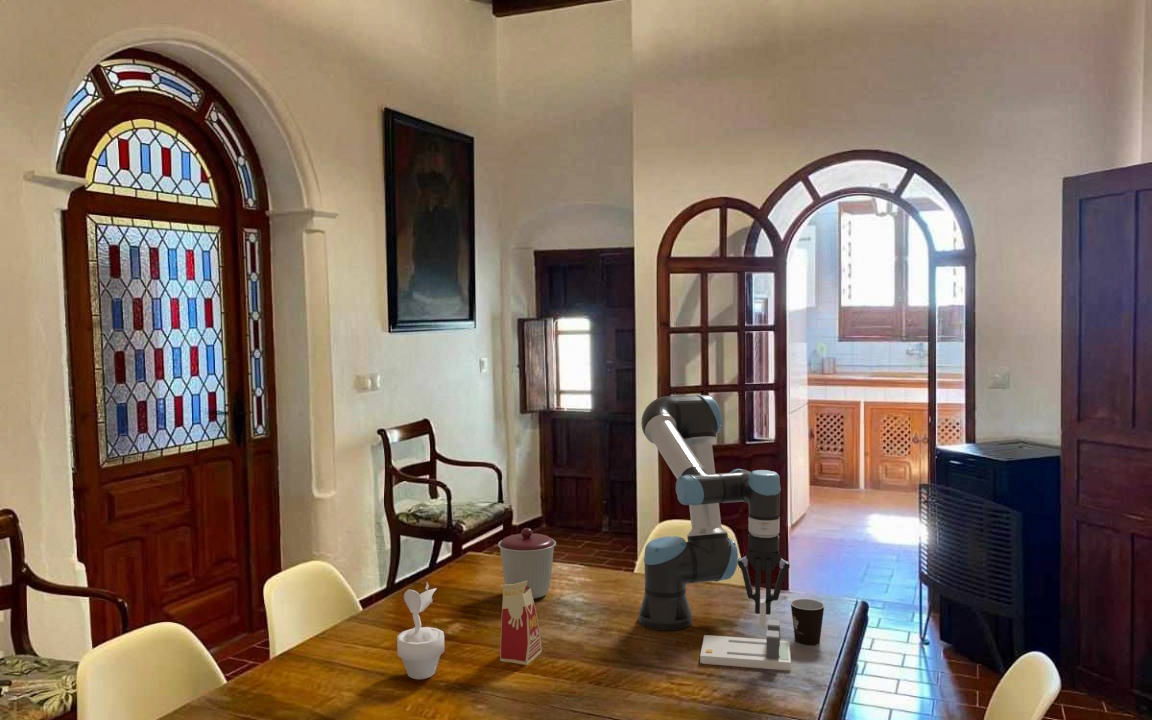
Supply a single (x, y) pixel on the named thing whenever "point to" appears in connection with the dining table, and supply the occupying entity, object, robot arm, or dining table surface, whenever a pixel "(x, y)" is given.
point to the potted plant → (420, 639)
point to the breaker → (774, 626)
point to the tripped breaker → (772, 644)
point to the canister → (528, 560)
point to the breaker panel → (743, 653)
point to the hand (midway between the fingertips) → (762, 626)
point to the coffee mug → (807, 621)
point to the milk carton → (519, 625)
